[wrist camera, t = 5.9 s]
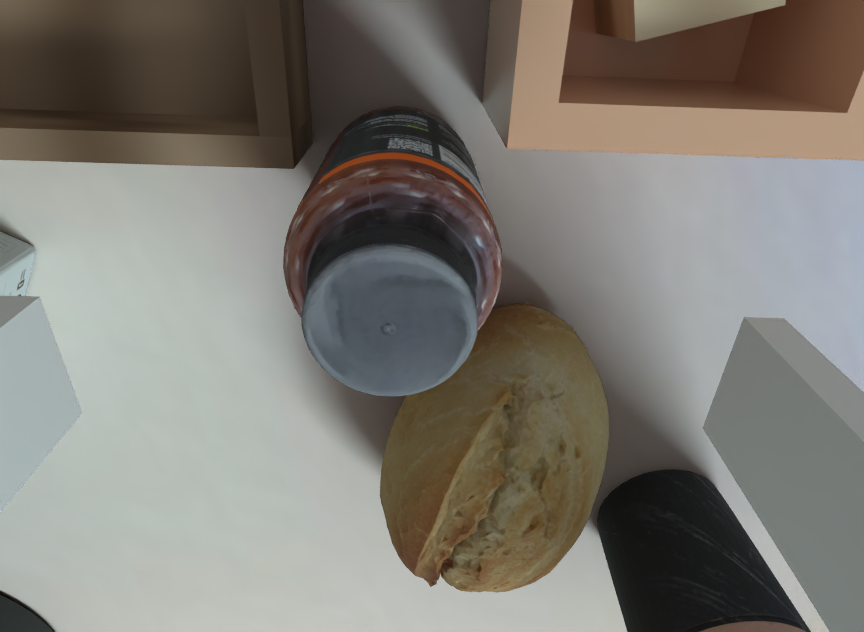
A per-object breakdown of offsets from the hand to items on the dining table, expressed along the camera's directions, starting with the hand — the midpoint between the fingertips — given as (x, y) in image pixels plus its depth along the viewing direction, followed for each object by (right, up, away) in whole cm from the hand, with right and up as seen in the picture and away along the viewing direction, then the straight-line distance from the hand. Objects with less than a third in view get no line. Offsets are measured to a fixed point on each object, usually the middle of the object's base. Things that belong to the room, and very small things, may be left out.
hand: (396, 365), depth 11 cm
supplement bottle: (-1, +6, +11) cm, 13 cm away
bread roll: (+3, -4, +18) cm, 18 cm away
